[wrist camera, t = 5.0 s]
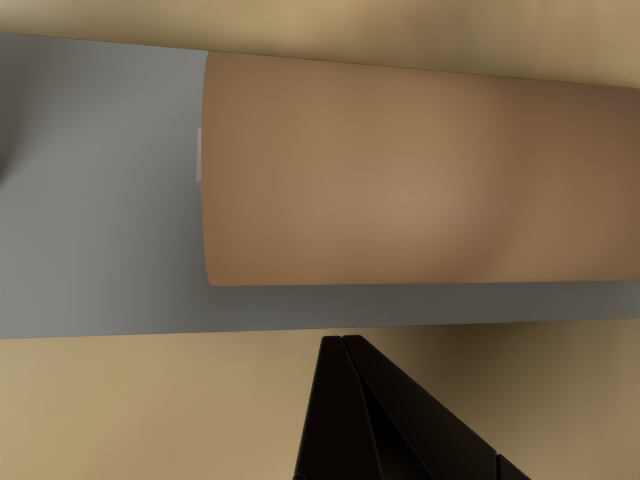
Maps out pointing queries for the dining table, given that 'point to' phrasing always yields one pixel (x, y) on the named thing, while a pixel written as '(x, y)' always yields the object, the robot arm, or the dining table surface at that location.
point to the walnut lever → (414, 176)
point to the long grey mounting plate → (173, 215)
